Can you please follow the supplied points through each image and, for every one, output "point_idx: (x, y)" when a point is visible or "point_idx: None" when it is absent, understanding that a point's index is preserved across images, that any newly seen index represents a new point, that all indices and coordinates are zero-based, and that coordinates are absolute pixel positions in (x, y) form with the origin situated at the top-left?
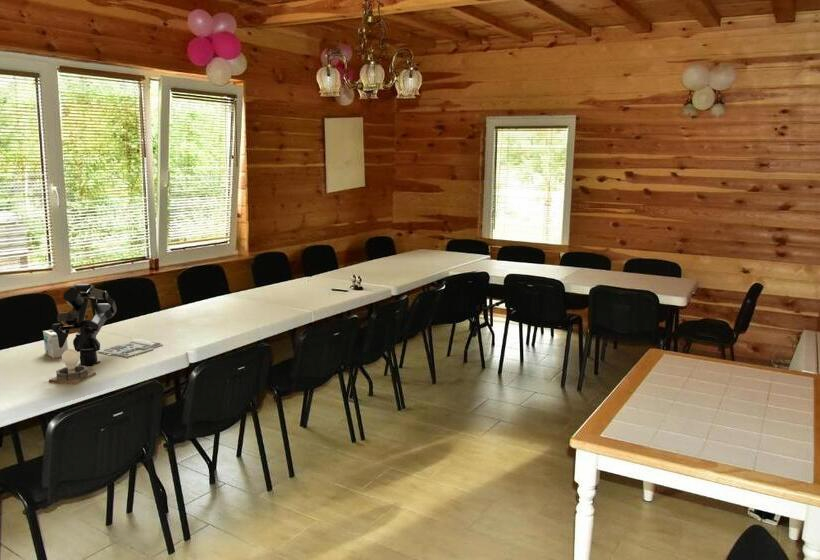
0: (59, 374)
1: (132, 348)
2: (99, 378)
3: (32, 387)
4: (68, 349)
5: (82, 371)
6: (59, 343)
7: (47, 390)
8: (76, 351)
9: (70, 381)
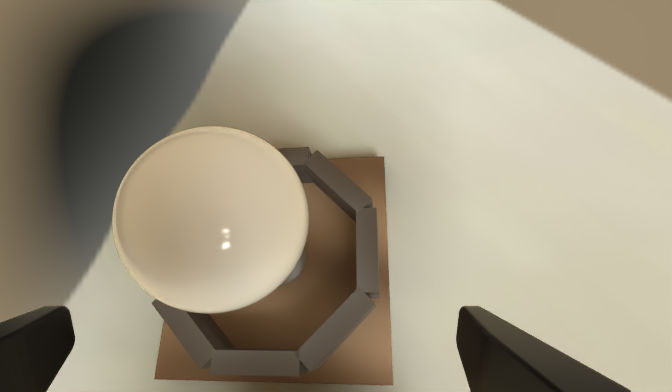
0: (292, 148)
1: None
2: (101, 301)
3: (408, 76)
4: (196, 188)
5: None
6: (509, 334)
7: (288, 65)
8: (116, 234)
9: None
